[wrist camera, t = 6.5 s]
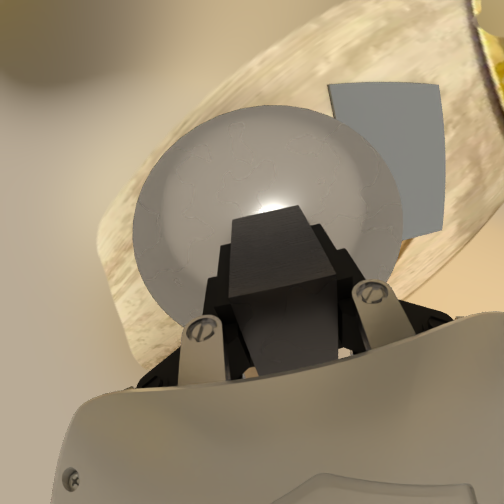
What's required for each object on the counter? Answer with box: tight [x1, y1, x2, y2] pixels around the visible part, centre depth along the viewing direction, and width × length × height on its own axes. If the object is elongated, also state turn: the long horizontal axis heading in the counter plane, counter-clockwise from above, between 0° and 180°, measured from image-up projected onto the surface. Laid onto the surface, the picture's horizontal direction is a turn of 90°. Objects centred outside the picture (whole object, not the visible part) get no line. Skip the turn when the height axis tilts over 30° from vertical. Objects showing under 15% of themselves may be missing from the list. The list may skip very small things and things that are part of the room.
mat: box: [328, 82, 445, 240], centre depth 27 cm, size 20×15×1 cm
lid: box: [133, 105, 403, 376], centre depth 11 cm, size 13×13×6 cm
